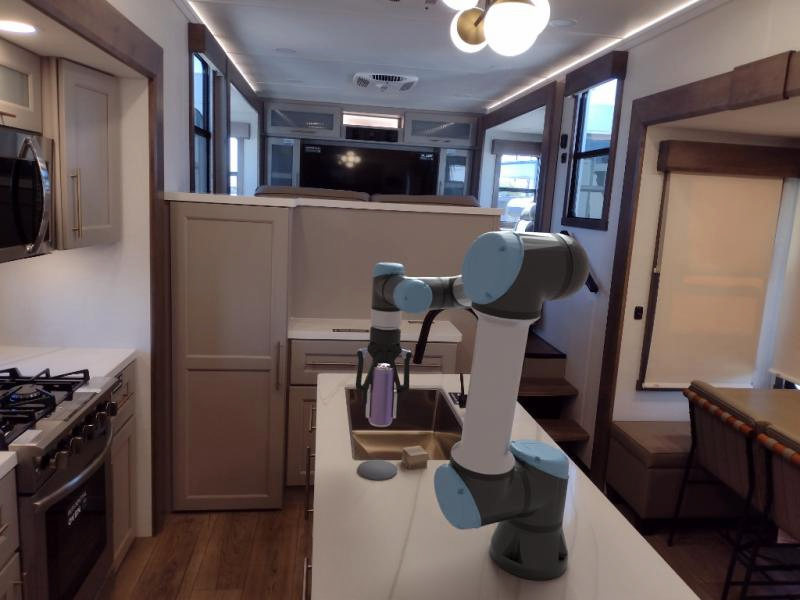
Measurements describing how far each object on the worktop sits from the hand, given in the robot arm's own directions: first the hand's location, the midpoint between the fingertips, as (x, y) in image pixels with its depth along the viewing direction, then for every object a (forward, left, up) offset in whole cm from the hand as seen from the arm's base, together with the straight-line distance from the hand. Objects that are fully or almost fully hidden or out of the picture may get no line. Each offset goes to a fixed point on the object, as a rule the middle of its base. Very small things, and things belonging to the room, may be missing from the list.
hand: (380, 415), depth 145 cm
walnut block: (+4, -10, -15) cm, 18 cm away
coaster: (0, 0, -15) cm, 15 cm away
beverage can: (0, 0, -2) cm, 2 cm away
